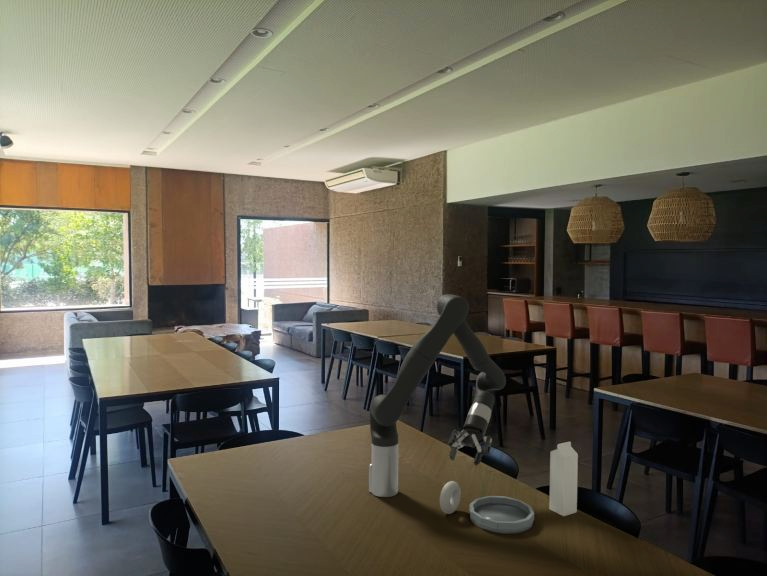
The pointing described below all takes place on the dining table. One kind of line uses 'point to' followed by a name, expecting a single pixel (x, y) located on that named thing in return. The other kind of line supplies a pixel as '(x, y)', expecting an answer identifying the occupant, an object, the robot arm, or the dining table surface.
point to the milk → (563, 479)
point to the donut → (450, 497)
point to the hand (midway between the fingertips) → (463, 461)
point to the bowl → (501, 514)
